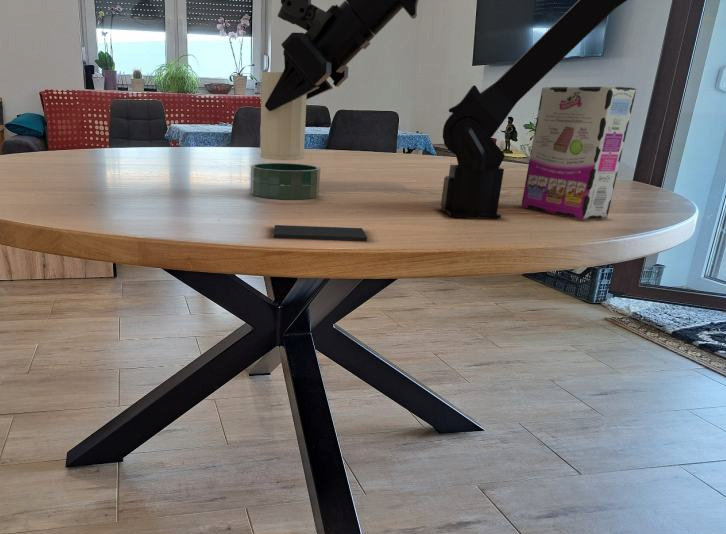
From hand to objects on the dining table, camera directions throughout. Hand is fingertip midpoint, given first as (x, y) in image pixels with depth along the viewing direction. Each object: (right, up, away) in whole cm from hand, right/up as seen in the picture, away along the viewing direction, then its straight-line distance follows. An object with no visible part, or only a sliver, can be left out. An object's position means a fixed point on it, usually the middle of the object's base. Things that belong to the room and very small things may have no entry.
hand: (273, 108), depth 87 cm
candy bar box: (+41, -14, +2) cm, 43 cm away
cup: (+1, -6, +2) cm, 7 cm away
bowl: (+2, -11, +6) cm, 13 cm away
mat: (+5, -20, -17) cm, 27 cm away
